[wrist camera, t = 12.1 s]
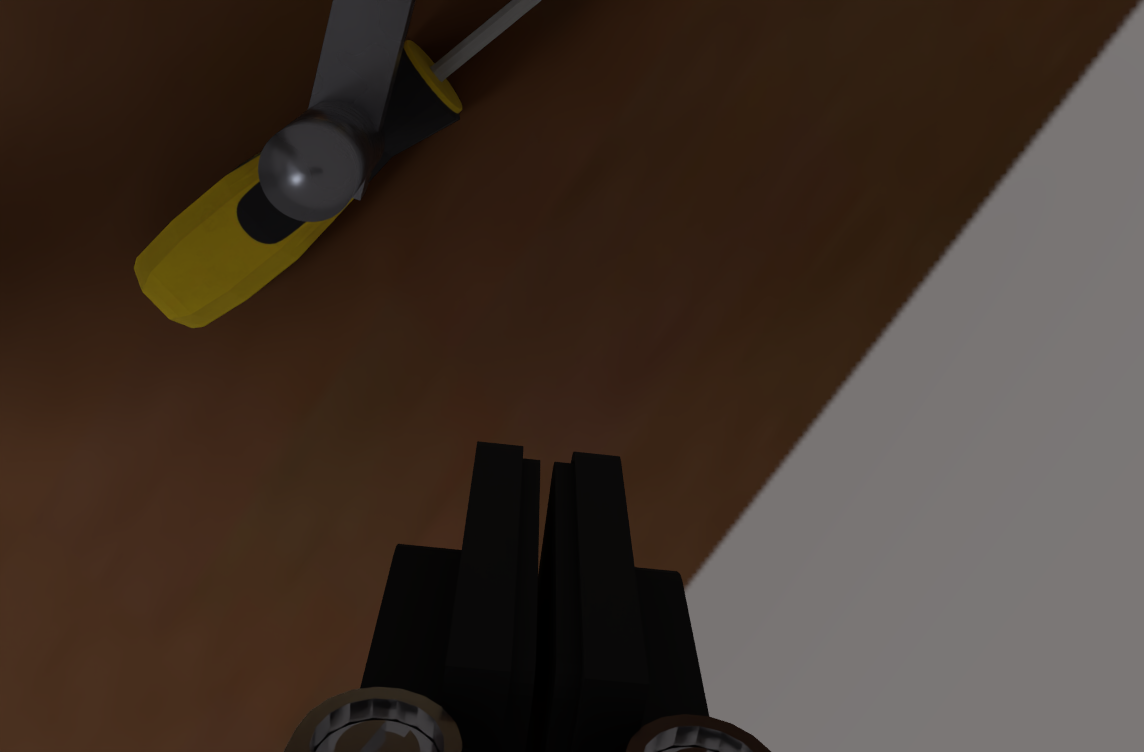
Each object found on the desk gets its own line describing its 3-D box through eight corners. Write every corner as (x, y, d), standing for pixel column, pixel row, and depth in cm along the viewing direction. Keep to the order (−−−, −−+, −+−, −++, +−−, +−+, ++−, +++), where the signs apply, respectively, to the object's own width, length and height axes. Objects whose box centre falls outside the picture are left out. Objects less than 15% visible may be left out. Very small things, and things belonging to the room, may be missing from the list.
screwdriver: (183, 352, 35) (975, -280, 28) (107, 274, 33) (912, -402, 27) (214, 317, 38) (931, -258, 31) (145, 245, 37) (874, -366, 30)
